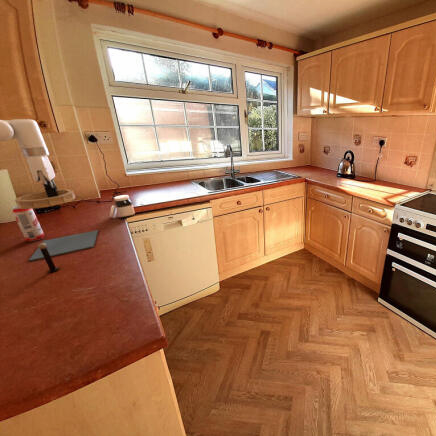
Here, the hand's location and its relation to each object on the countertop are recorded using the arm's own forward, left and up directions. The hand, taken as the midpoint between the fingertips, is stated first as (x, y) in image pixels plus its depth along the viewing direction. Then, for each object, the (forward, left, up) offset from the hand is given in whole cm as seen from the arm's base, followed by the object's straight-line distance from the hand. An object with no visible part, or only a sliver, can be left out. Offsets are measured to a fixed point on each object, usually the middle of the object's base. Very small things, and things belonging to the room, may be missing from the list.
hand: (53, 195), depth 105 cm
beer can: (-14, +9, -21) cm, 27 cm away
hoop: (0, -8, -1) cm, 8 cm away
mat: (0, -7, -21) cm, 22 cm away
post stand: (0, -31, -21) cm, 37 cm away
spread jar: (+20, +19, -21) cm, 34 cm away
